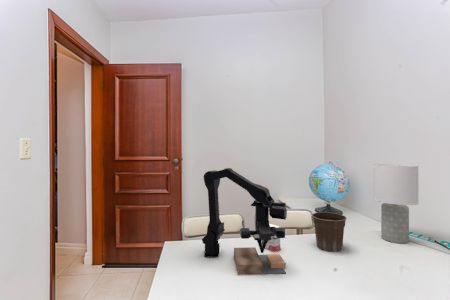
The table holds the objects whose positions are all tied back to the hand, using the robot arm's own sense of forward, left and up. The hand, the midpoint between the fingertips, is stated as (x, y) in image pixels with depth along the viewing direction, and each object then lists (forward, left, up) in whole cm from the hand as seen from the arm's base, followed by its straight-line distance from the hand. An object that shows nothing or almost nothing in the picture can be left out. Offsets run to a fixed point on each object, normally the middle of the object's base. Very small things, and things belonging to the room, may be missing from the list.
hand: (261, 252), depth 105 cm
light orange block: (+6, 0, -2) cm, 7 cm away
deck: (-6, 0, -5) cm, 8 cm away
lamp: (+80, +26, -5) cm, 84 cm away
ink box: (+8, +17, -5) cm, 20 cm away
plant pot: (+38, +17, -5) cm, 42 cm away
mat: (+3, 0, -5) cm, 6 cm away
